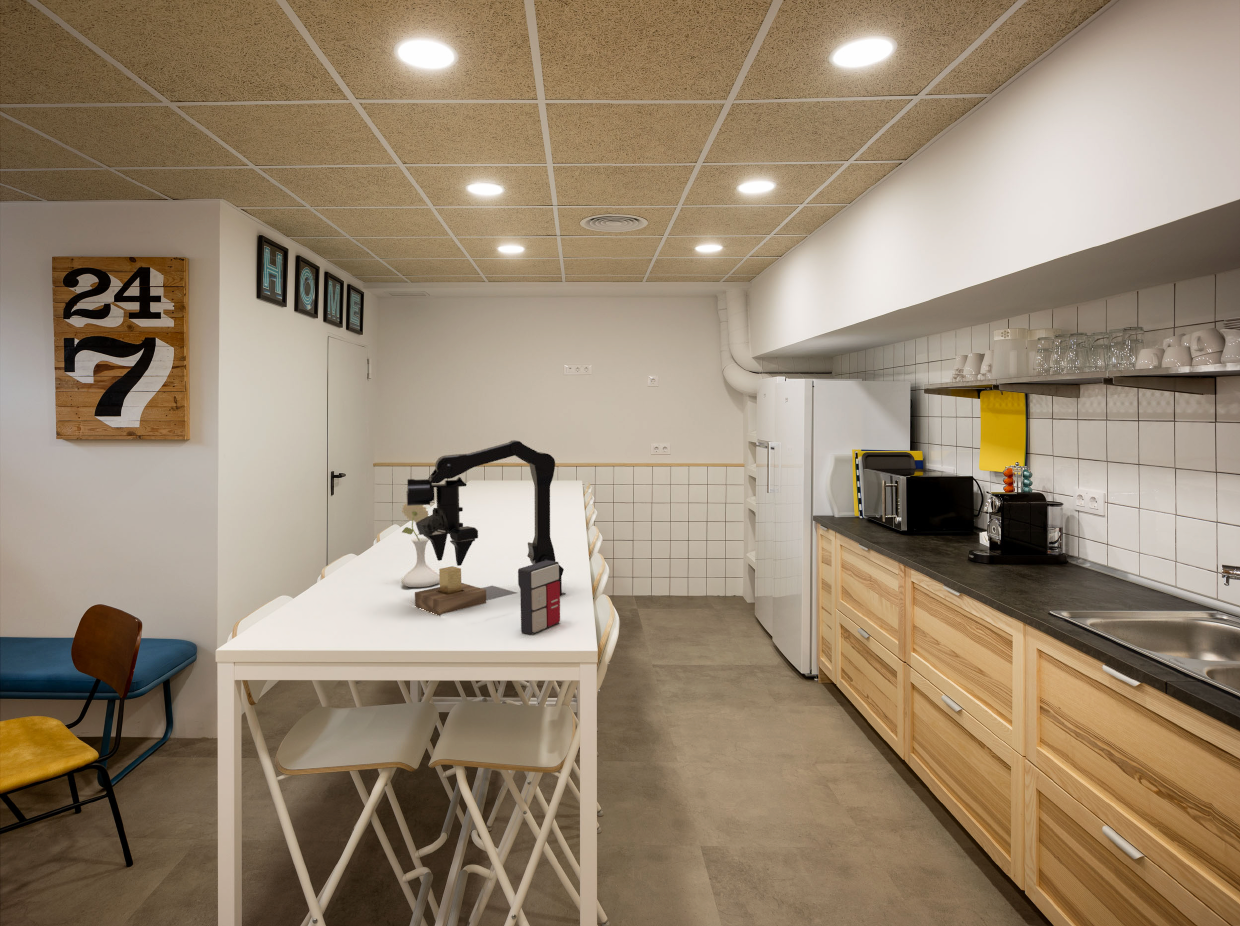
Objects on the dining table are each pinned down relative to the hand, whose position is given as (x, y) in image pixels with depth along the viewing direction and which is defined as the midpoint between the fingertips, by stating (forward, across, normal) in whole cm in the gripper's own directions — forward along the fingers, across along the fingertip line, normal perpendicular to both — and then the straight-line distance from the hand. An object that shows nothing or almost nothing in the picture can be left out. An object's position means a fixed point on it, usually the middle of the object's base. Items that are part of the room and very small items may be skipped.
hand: (449, 562), depth 180 cm
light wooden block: (+12, 0, 0) cm, 12 cm away
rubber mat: (+12, -2, +13) cm, 18 cm away
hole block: (+12, 0, 0) cm, 12 cm away
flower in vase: (+12, -26, +6) cm, 29 cm away
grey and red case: (+12, +32, +4) cm, 34 cm away
